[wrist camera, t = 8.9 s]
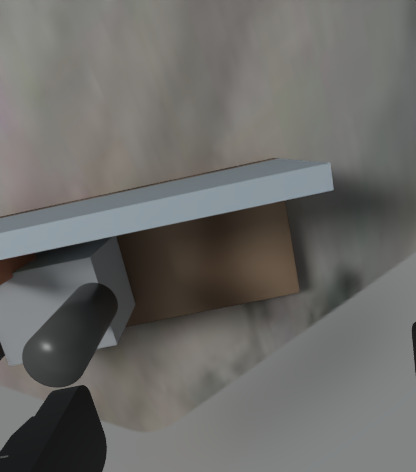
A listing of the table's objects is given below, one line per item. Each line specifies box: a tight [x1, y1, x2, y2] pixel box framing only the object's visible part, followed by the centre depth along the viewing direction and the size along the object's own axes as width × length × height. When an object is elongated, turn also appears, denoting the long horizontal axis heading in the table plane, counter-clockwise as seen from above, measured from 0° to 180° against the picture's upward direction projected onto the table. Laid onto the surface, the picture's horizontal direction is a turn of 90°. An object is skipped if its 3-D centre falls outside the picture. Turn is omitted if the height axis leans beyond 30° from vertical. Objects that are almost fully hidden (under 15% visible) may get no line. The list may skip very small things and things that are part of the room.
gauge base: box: [0, 158, 300, 327], centre depth 23 cm, size 21×9×2 cm, turn 102°
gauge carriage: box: [0, 236, 135, 387], centre depth 18 cm, size 9×6×10 cm, turn 102°
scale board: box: [0, 159, 334, 260], centre depth 17 cm, size 21×1×9 cm, turn 102°
